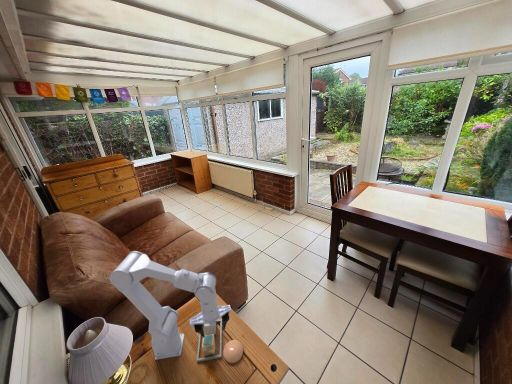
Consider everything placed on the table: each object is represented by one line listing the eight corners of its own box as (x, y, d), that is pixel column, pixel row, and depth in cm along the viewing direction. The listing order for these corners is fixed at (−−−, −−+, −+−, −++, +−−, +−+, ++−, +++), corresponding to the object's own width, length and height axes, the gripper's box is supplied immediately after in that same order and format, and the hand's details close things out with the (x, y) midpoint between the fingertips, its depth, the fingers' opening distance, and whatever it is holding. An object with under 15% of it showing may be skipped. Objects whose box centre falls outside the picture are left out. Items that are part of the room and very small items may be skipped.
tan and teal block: (204, 356, 77) (201, 346, 75) (205, 345, 81) (203, 335, 78) (214, 354, 78) (213, 344, 75) (215, 343, 81) (213, 333, 79)
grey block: (205, 336, 84) (203, 326, 82) (206, 326, 88) (204, 317, 85) (215, 334, 84) (214, 324, 82) (216, 325, 88) (214, 315, 86)
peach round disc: (223, 365, 74) (223, 363, 74) (223, 343, 81) (223, 341, 81) (243, 361, 75) (243, 359, 75) (242, 339, 82) (242, 338, 82)
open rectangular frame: (196, 362, 75) (196, 360, 75) (201, 323, 89) (200, 322, 88) (221, 357, 76) (221, 356, 76) (222, 320, 90) (221, 319, 89)
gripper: (188, 323, 65) (194, 349, 71) (232, 307, 70) (235, 333, 75) (187, 305, 71) (193, 330, 77) (227, 291, 76) (230, 316, 81)
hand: (213, 330), depth 76 cm, fingers open, 7 cm apart
